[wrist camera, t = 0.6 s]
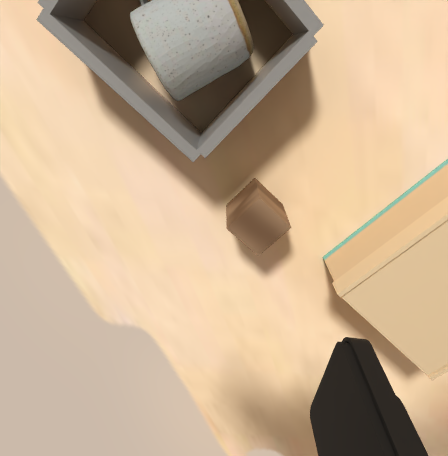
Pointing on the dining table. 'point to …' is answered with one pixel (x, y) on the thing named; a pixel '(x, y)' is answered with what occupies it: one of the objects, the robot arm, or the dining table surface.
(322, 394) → the robot arm
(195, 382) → the dining table surface
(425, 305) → the lid
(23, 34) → the dining table surface
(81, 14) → the coaster tray
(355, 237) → the base
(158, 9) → the ceramic mug
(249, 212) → the walnut block
